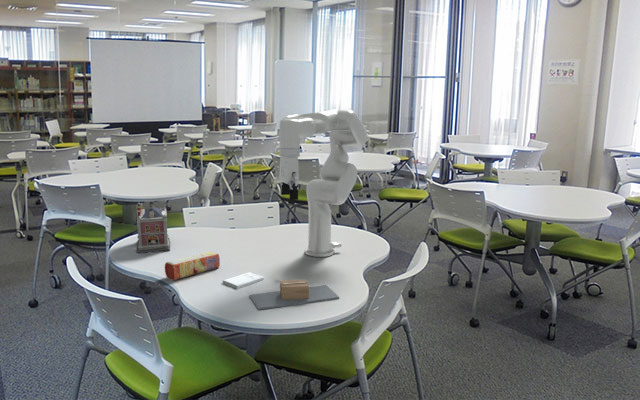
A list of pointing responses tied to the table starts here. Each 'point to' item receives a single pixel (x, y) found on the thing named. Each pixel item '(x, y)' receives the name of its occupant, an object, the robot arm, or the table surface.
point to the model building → (152, 230)
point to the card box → (294, 289)
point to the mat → (275, 299)
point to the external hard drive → (243, 280)
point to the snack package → (191, 265)
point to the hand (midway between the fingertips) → (289, 197)
